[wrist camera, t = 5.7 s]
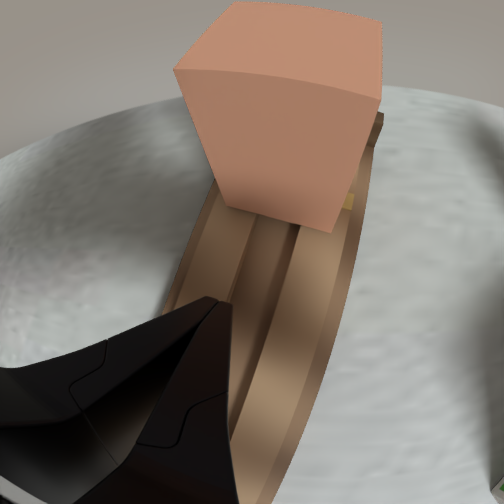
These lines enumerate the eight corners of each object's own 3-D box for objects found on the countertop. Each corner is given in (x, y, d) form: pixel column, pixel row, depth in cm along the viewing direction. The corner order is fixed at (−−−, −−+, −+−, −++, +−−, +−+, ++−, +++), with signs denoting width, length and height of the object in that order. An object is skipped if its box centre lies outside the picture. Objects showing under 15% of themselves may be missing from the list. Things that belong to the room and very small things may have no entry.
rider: (328, 238, 15) (381, 100, 6) (228, 212, 16) (172, 69, 7) (345, 163, 16) (381, 21, 7) (256, 142, 17) (234, 1, 8)
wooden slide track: (247, 539, 11) (239, 573, 8) (121, 489, 13) (92, 510, 9) (370, 149, 19) (383, 113, 15) (249, 122, 20) (243, 83, 17)
